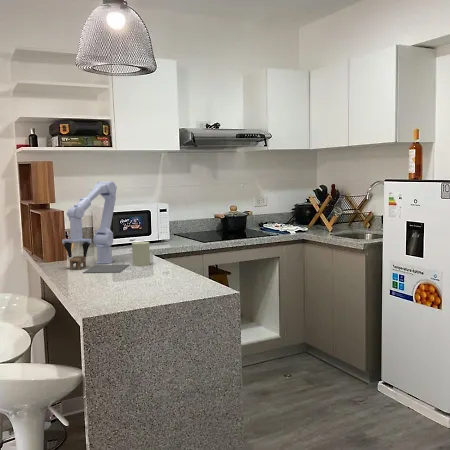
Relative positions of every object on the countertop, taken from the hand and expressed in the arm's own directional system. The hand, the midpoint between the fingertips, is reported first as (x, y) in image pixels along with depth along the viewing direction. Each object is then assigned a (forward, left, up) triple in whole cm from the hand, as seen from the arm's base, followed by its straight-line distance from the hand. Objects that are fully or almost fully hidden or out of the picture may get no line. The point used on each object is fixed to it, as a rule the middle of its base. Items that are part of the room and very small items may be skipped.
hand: (77, 257), depth 261 cm
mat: (+4, +16, -6) cm, 18 cm away
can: (-8, +31, -6) cm, 33 cm away
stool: (0, 0, -6) cm, 6 cm away
